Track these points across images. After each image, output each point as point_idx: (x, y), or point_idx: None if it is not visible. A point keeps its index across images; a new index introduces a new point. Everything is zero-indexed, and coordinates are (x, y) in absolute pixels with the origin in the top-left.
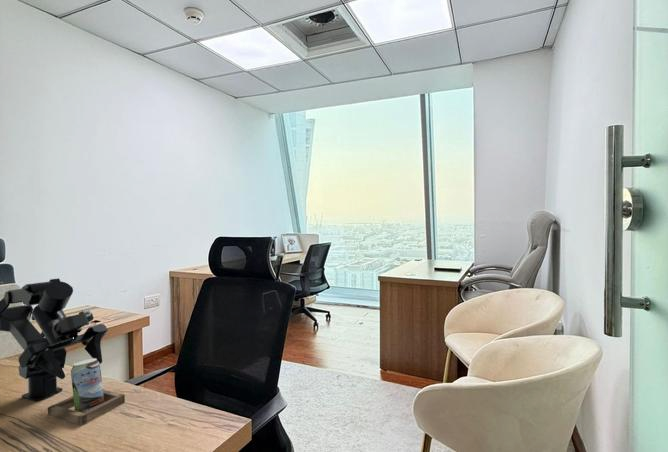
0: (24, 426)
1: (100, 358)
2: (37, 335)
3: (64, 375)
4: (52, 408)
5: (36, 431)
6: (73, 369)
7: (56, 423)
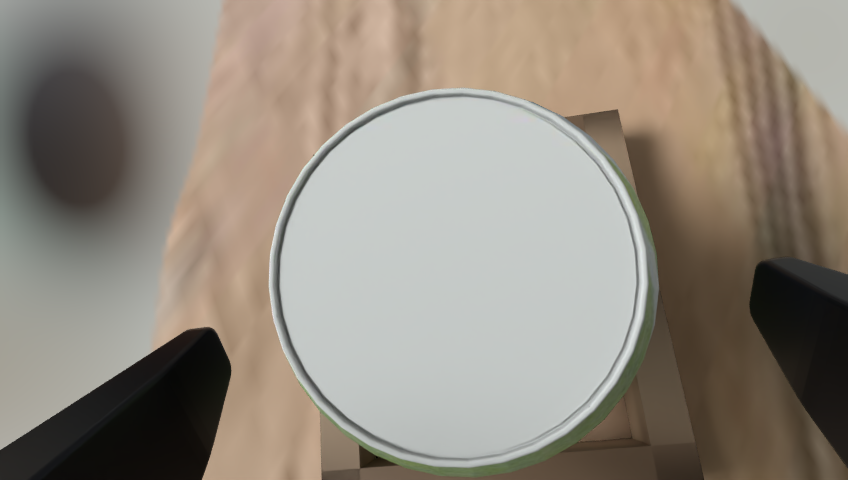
0: (841, 470)
1: (170, 350)
2: None
3: (781, 259)
4: (688, 426)
5: None
6: (650, 263)
7: (683, 299)
